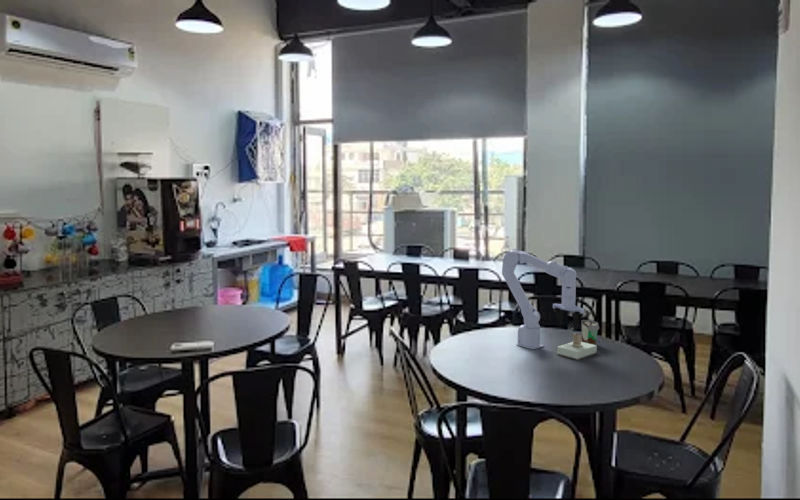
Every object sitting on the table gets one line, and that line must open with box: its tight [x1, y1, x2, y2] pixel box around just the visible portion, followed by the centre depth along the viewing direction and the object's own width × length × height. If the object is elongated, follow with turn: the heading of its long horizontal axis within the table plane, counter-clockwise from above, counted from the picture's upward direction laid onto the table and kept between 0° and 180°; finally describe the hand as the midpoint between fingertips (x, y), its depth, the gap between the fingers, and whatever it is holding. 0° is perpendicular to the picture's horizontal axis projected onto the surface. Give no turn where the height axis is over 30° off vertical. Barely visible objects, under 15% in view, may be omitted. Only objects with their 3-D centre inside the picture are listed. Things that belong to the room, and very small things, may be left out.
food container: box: [580, 319, 600, 345], centre depth 282 cm, size 12×6×10 cm, turn 179°
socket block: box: [556, 341, 598, 361], centre depth 268 cm, size 10×14×4 cm
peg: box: [572, 333, 582, 348], centre depth 268 cm, size 3×3×8 cm
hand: (567, 327), depth 274 cm, fingers open, 7 cm apart
